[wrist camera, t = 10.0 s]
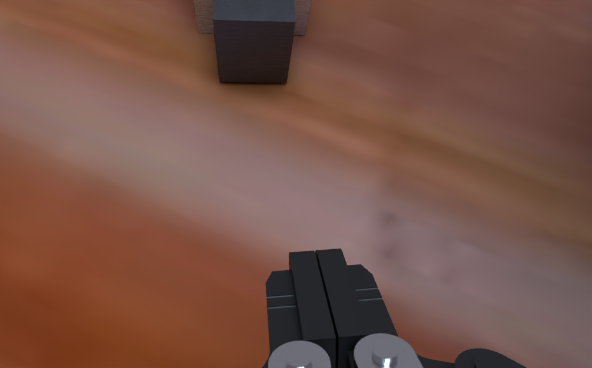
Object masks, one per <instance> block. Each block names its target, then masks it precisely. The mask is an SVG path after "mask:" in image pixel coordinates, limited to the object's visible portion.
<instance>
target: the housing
mask: <svg viewBox="0 0 592 368" xmlns="http://www.w3.org/2000/svg"><path fill="white" fill-rule="evenodd" d="M294 1H295V20H296V23H295V29H294V35H305V32H306V26H307V21H308V16H309V10H310V5H311V0H294ZM194 7H195V13H196V19H197V26H198V32H199V33H214V25H213V0H194Z"/></svg>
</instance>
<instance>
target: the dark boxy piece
mask: <svg viewBox="0 0 592 368" xmlns="http://www.w3.org/2000/svg"><path fill="white" fill-rule="evenodd" d="M295 23H296V20H295V1H294V0H213V25H214V35H215V44H216V53H217V63H218V72H219V82H281V83H287V76H288V70H289V63H290V56H291V49H292V43H293V36H294V29H295Z"/></svg>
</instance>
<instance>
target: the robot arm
mask: <svg viewBox="0 0 592 368" xmlns="http://www.w3.org/2000/svg"><path fill="white" fill-rule="evenodd" d="M266 297H267V313H268V329H269V344H270V354H269V358H268V360H267V362H266V363H265V365H264V366H263V367H262V368H526V367H524V366H522V365H520V364H519V363H517V362H515V361H513V360H511V359H509V358H507V357H506V356H504V355H502V354H500V353H497V352H495V351H492V350H488V349H481V348H478V349H469V350H466V351H464V352H462V353H461V354H459V355H458V357H457V358H456V360H455V363H449V362H443V361H437V360H431V359H427V358H424V357H421V356H419V355H417V354H415V352H414V350H413V349H412V347H411V346H410V345H409V344H408V343H407V342H406V341H404V340H403V339H401V338H399V337H398V335H397V332H396V330H395V328H394V325H393V323H392V320H391V318H390V316H389V313H388V311H387V308H386V306H385V304H384V301H383V300H382V296H381V294H380V292H379V289H378V287H377V284H376V282H375V280H374V277H373V275H372V274H371V273H370V272H369V271H368V270H367V269H365V268H364V267H363V266H362V265H361V264H360V265H347V264H346V261H345V258H344V255H343V252H342V250H341V249H328V250H316V251H315V252H314V251H303V252H289V270H284V271H272V273H271V275H270V276H269V278H268V280H267V282H266Z"/></svg>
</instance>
